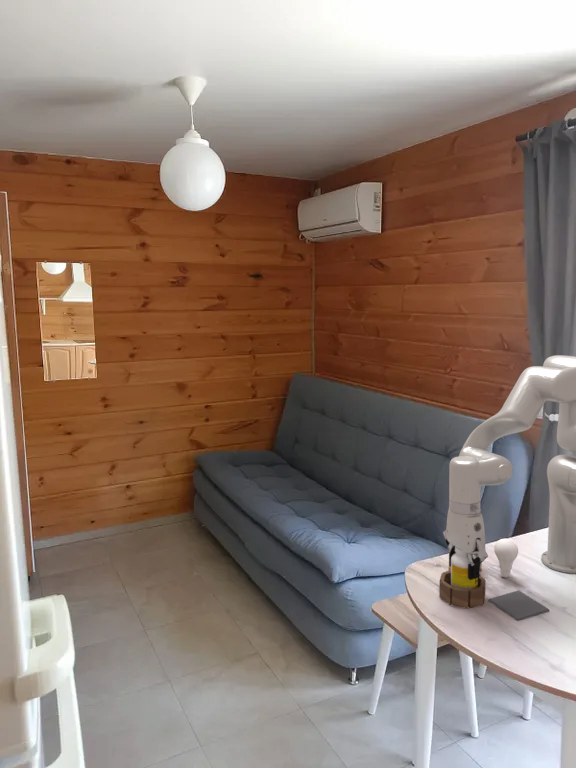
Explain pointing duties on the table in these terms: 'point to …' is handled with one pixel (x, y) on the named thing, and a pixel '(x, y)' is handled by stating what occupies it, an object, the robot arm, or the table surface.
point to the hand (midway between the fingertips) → (464, 571)
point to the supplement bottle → (461, 571)
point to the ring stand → (461, 593)
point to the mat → (518, 605)
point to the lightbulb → (506, 555)
